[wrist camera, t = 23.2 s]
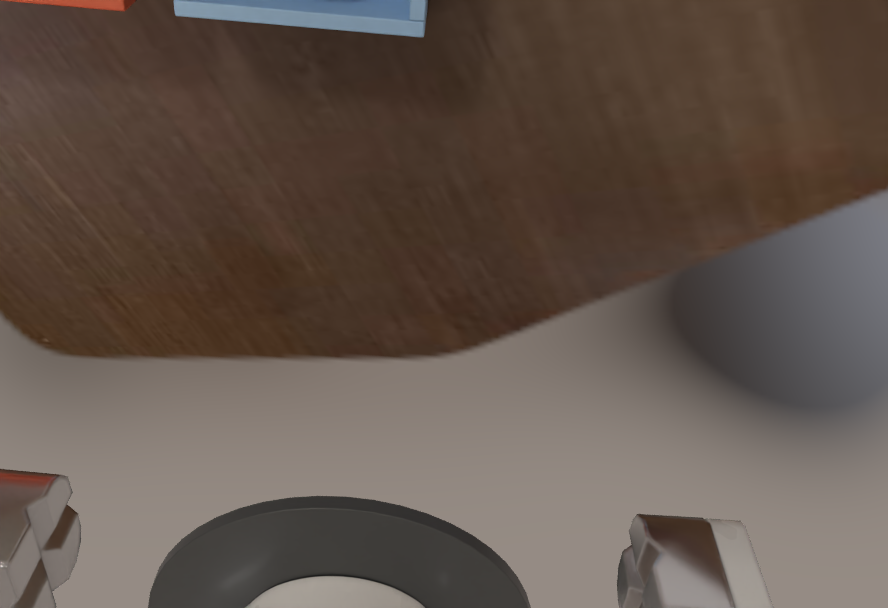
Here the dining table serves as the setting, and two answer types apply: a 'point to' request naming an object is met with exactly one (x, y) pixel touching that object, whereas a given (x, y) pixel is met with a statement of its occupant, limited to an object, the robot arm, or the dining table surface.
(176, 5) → the blue bin
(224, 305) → the dining table surface
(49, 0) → the red bin
